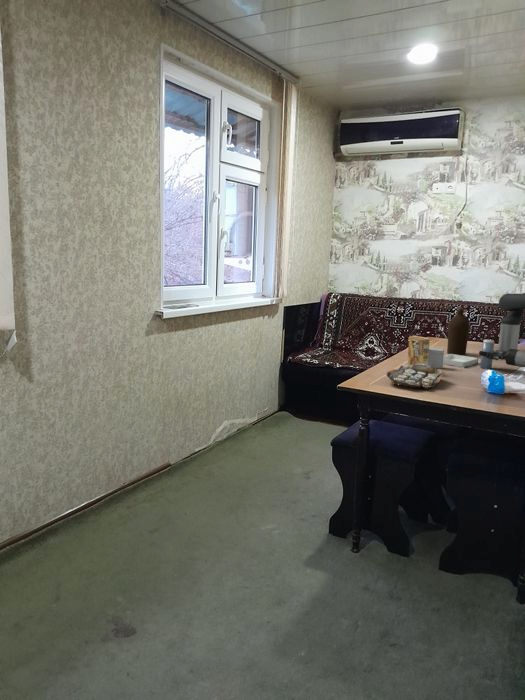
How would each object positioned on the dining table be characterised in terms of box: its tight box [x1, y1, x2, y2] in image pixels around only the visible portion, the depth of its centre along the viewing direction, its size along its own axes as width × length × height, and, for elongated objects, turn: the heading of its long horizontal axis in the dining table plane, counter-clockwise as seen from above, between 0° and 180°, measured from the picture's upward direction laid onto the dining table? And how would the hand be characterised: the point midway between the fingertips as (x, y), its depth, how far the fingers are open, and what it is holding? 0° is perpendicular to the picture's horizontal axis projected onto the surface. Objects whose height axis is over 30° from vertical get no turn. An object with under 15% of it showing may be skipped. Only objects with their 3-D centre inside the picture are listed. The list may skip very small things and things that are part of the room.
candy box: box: [406, 335, 431, 366], centre depth 240 cm, size 9×4×15 cm, turn 33°
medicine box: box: [428, 347, 445, 369], centre depth 248 cm, size 8×4×9 cm, turn 65°
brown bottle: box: [446, 306, 471, 356], centre depth 281 cm, size 11×11×25 cm
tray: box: [443, 354, 479, 368], centre depth 259 cm, size 16×14×2 cm
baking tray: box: [386, 363, 446, 390], centre depth 218 cm, size 30×22×5 cm
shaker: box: [479, 339, 495, 370], centre depth 249 cm, size 5×5×13 cm
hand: (482, 352), depth 251 cm, fingers closed on shaker, 5 cm apart
